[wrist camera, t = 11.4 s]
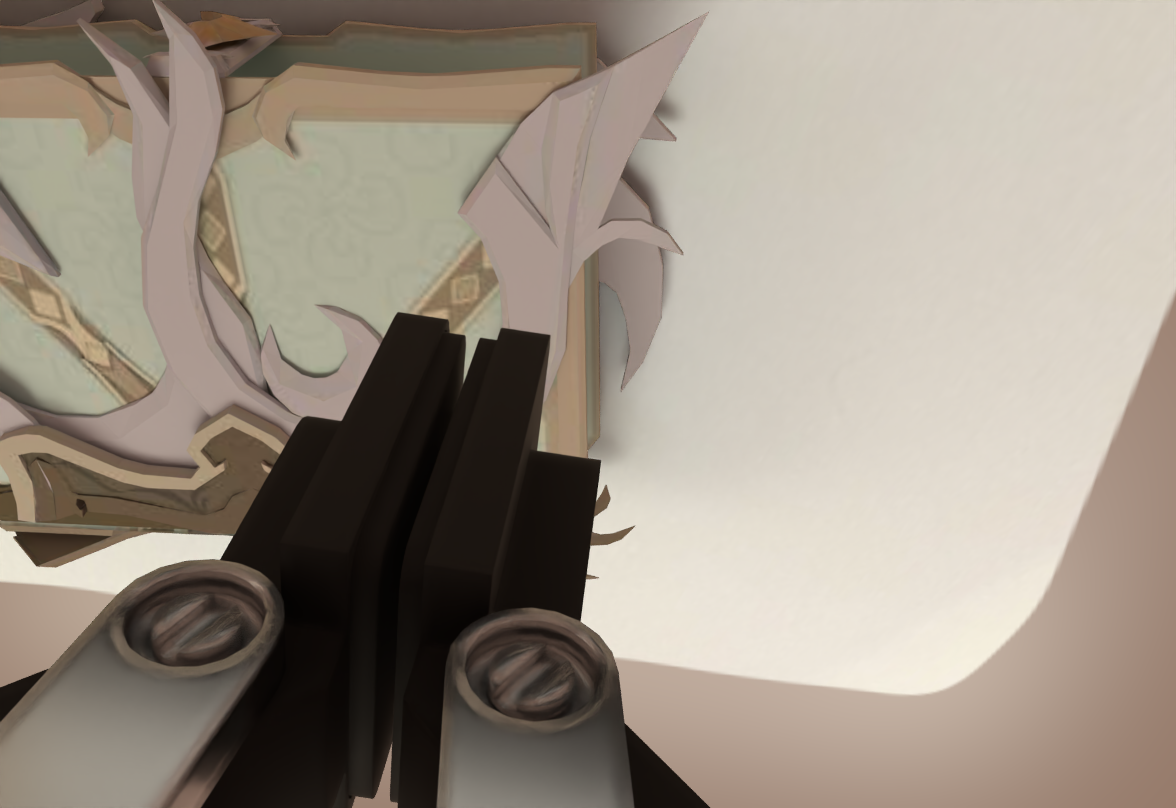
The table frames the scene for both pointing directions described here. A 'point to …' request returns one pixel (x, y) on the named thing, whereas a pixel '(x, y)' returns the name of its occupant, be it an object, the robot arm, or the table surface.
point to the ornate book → (291, 243)
